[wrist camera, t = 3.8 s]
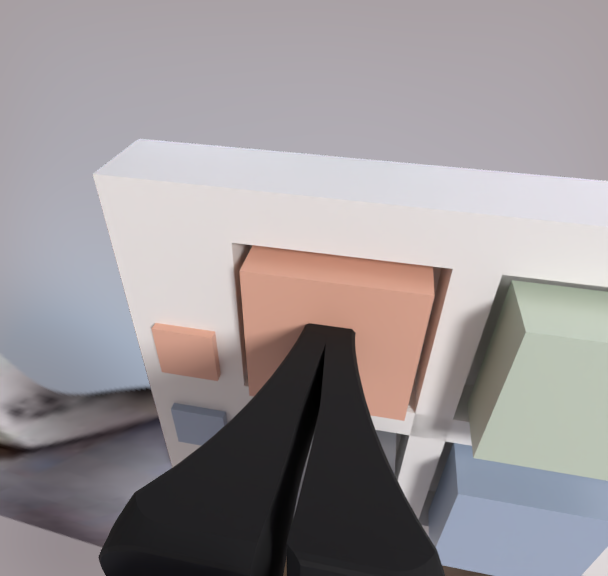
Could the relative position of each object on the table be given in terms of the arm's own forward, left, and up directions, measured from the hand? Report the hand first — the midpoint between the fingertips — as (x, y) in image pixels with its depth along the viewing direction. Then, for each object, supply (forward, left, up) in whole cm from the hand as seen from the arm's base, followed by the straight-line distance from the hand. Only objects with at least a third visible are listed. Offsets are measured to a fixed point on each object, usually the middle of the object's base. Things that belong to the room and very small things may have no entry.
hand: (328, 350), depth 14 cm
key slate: (-7, +7, -1) cm, 10 cm away
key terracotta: (0, 0, -2) cm, 2 cm away
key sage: (-7, 0, -1) cm, 7 cm away
